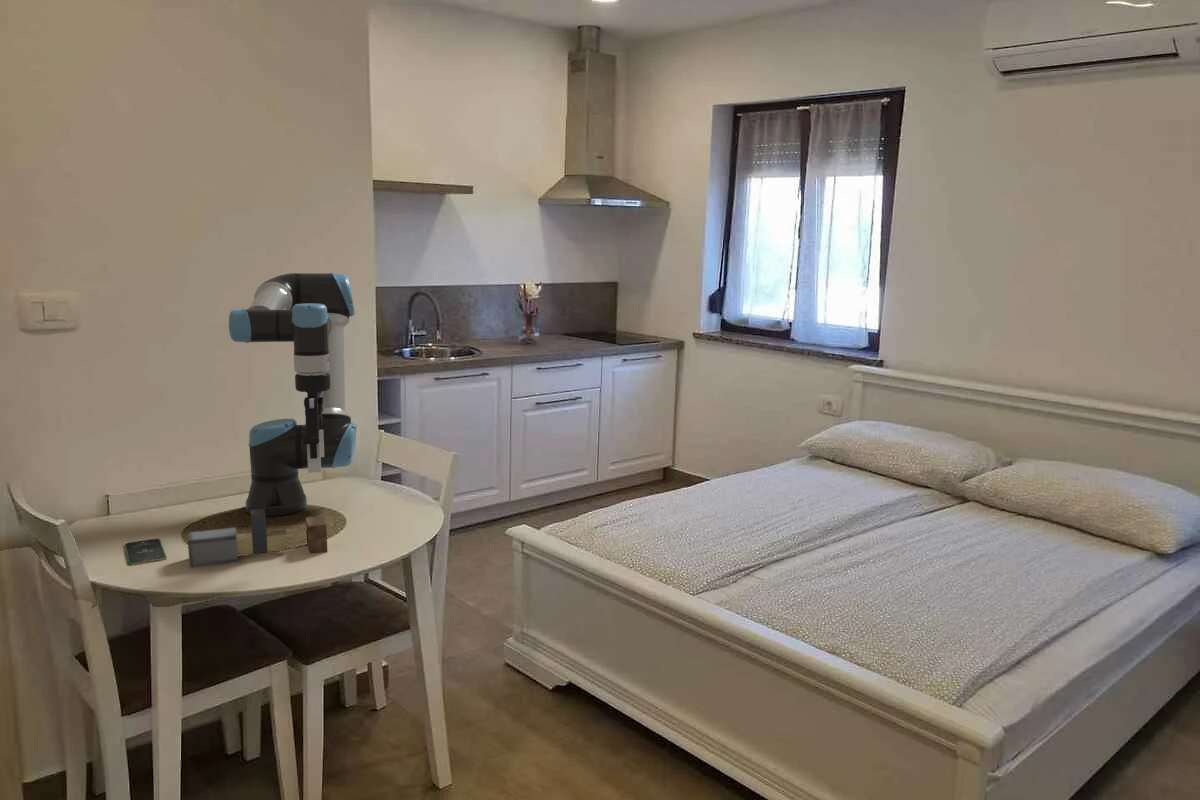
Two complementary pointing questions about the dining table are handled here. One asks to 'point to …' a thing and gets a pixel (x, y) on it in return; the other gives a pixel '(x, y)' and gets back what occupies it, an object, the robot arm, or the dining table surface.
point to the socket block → (316, 534)
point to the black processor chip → (144, 551)
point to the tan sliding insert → (260, 537)
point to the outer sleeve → (212, 547)
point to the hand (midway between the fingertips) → (316, 464)
